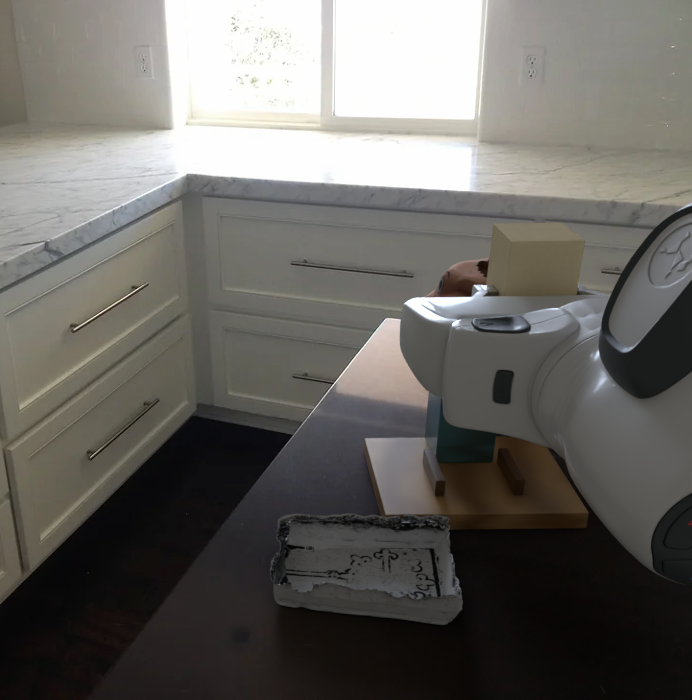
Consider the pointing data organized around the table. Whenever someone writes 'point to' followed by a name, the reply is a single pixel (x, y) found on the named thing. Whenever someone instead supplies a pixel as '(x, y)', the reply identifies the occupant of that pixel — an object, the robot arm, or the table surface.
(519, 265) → the beige rectangular block
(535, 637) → the table surface
